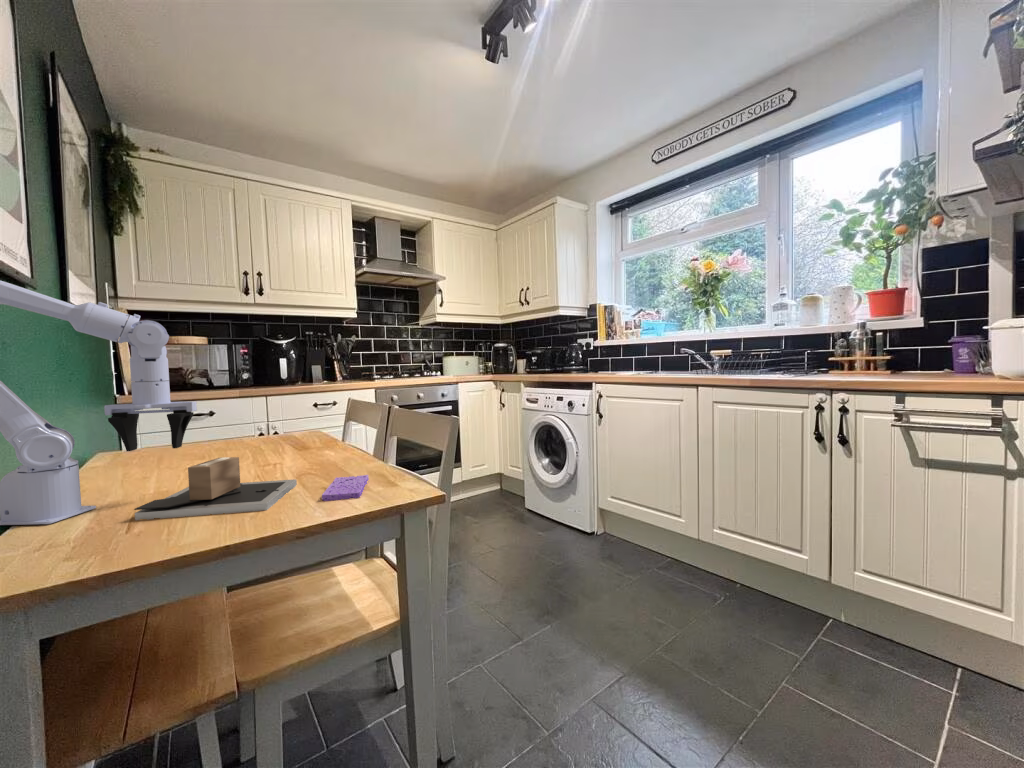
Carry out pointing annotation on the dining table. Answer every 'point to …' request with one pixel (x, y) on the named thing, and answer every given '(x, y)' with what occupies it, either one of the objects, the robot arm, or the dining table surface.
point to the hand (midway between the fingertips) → (154, 448)
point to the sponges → (345, 488)
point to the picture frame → (218, 501)
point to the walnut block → (213, 478)
